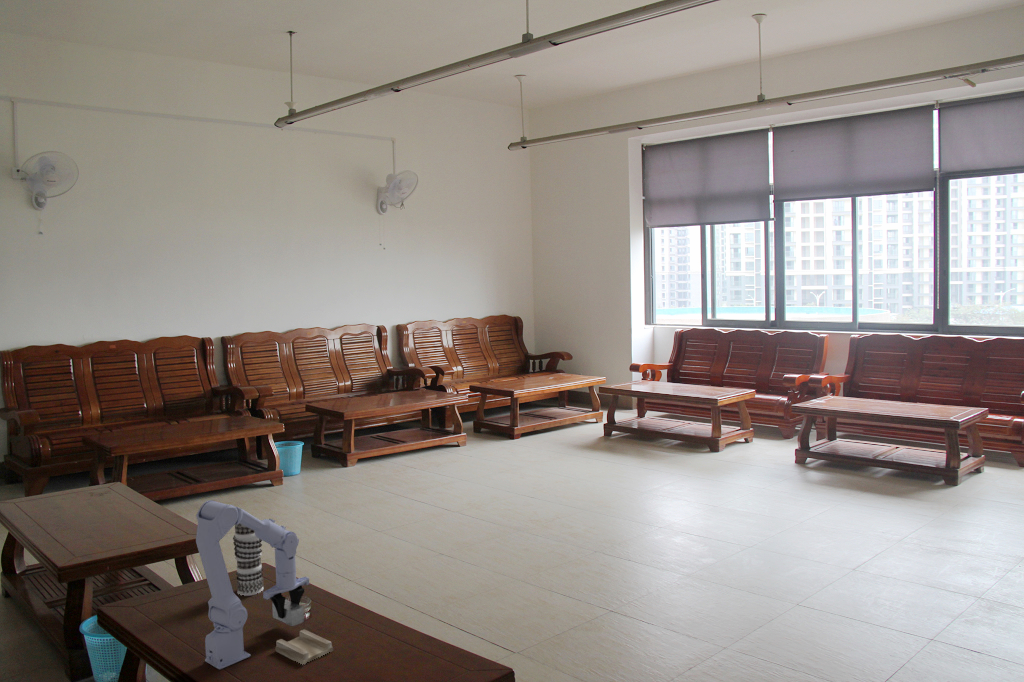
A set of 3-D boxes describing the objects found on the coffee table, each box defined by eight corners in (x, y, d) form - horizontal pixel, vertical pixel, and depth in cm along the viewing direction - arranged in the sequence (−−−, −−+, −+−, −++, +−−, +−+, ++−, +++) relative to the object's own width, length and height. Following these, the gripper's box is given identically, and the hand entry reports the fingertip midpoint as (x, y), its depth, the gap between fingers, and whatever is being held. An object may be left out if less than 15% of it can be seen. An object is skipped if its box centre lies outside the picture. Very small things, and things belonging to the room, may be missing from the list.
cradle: (302, 665, 210) (302, 655, 210) (275, 651, 219) (275, 641, 219) (333, 651, 218) (332, 641, 218) (305, 637, 226) (305, 628, 226)
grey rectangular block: (292, 626, 227) (291, 611, 227) (272, 617, 233) (272, 602, 233) (303, 621, 230) (303, 606, 230) (284, 612, 236) (283, 598, 236)
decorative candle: (249, 583, 268) (245, 512, 266) (270, 587, 265) (266, 515, 262) (230, 593, 260) (225, 520, 258) (251, 597, 256) (247, 523, 254)
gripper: (298, 560, 239) (301, 603, 240) (256, 574, 228) (258, 619, 229) (312, 565, 234) (314, 609, 235) (269, 580, 223) (272, 626, 224)
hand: (288, 614), depth 232 cm, fingers closed on grey rectangular block, 4 cm apart
